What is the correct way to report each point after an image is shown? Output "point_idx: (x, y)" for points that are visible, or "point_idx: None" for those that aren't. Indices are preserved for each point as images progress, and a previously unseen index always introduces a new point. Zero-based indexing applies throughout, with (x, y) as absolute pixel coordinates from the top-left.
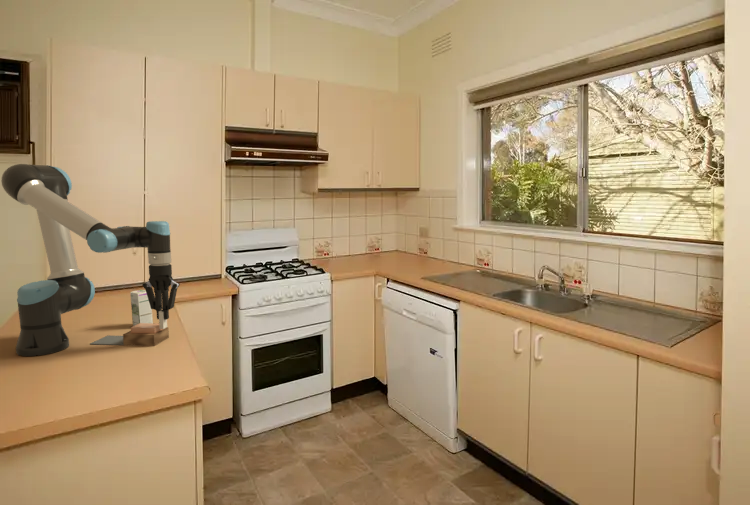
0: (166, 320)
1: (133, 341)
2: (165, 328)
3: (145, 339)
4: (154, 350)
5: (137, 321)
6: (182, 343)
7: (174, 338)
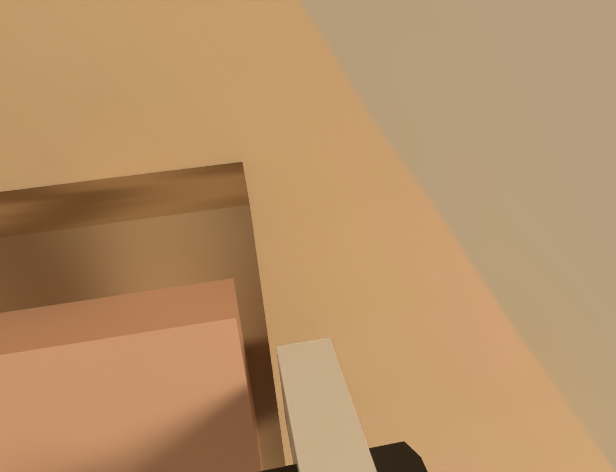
0: (352, 411)
1: None
2: (252, 265)
3: None
4: None
5: None
6: (475, 291)
7: (323, 178)
